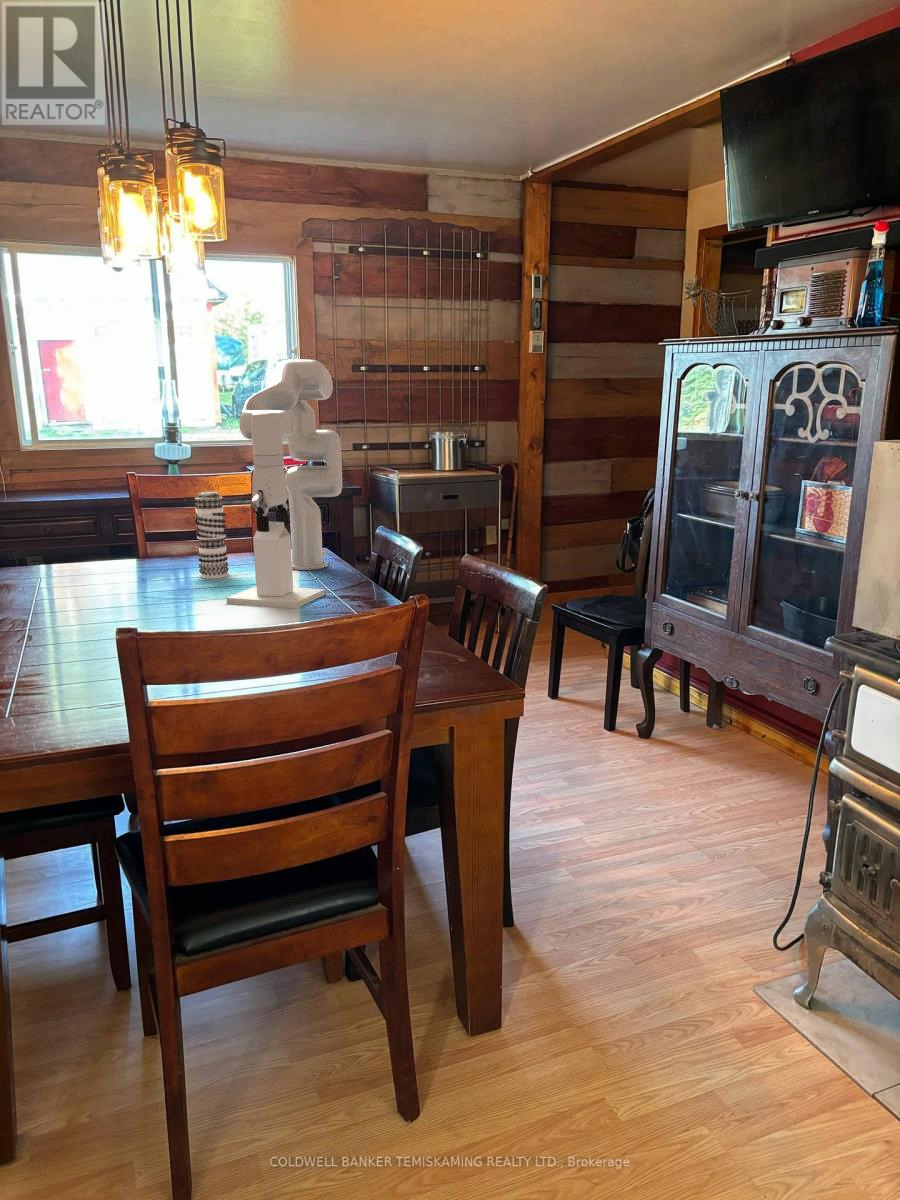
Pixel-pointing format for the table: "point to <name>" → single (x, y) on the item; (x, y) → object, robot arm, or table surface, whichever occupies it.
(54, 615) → the table surface
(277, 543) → the milk carton
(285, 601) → the serving board
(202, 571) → the decorative candle
